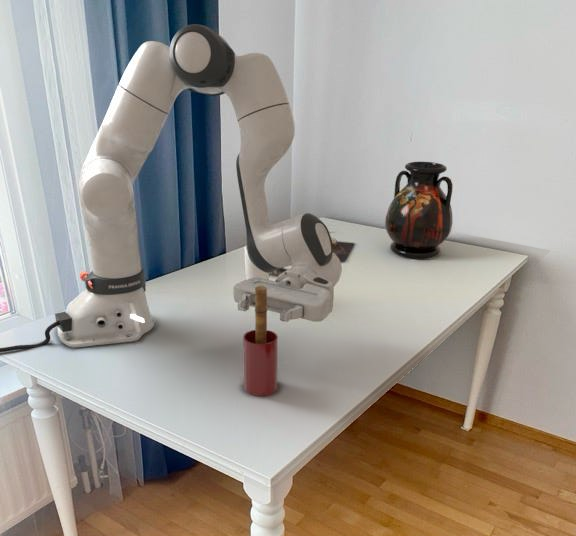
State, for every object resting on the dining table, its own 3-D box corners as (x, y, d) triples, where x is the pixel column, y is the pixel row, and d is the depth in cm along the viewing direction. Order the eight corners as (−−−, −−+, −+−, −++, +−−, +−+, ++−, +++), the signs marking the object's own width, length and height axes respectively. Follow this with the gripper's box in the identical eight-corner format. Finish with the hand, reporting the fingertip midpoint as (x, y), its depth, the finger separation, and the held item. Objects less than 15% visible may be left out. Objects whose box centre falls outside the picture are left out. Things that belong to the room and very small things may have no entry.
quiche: (280, 255, 195) (281, 243, 193) (296, 238, 212) (296, 226, 210) (343, 262, 191) (344, 250, 189) (354, 243, 208) (355, 232, 206)
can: (252, 399, 119) (252, 347, 113) (238, 383, 124) (237, 333, 118) (282, 391, 122) (283, 340, 116) (267, 376, 127) (268, 327, 121)
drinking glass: (266, 307, 158) (267, 252, 151) (242, 305, 159) (240, 250, 152) (272, 298, 164) (273, 244, 156) (248, 295, 165) (247, 242, 158)
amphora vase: (370, 254, 199) (379, 165, 184) (399, 238, 214) (409, 156, 200) (431, 267, 188) (445, 175, 174) (457, 250, 204) (471, 164, 189)
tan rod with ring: (258, 388, 121) (258, 291, 111) (253, 383, 123) (252, 286, 112) (268, 386, 122) (269, 289, 112) (263, 380, 124) (263, 284, 113)
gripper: (253, 266, 128) (216, 286, 118) (340, 284, 120) (309, 308, 109) (253, 293, 131) (217, 315, 121) (338, 313, 123) (307, 339, 112)
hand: (261, 312), depth 115 cm, fingers open, 8 cm apart
